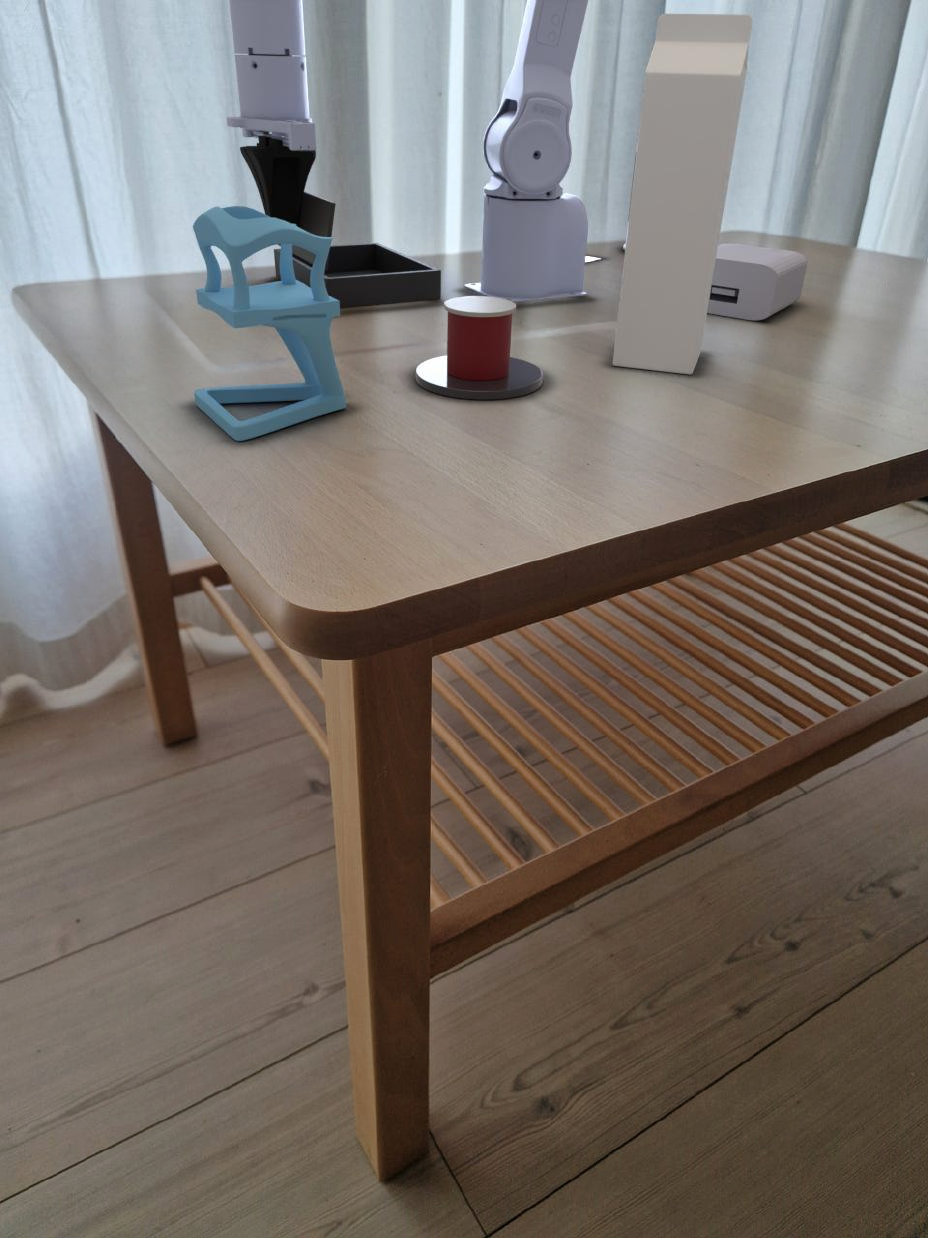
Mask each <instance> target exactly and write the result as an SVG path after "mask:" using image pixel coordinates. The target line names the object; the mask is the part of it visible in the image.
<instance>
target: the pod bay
mask: <svg viewBox="0 0 928 1238" xmlns="http://www.w3.org/2000/svg"><path fill="white" fill-rule="evenodd" d="M280 251H281V248H274V249H273V256H274V257H273V258H274V259H273V260H274V270H275V271H274V272H275V277H276V278H277V279H278V280H281V275H280ZM292 261H293V269H294V275H295V279H296V280H297V281H300V282H302V283H304V284H305V285H307V286H308V287H310V288H311V285H310V275H311V270H312V267H313V264H311V263H309V262H308V261H306V260H304V259H302V258H300V257H299V256H297V255H295V254H293V253H292ZM324 283H325V287H326V291H327V293H328V296H331V297H333V298H335V299H337V300H339V301H340V310H342V309H352V308H361V307H362V308H363V307H373V306H384V305H395V304H396V305H397V304H407V303H417V302H428V301H438V300H439V301H440V300H441V298H442V270H441V269H439V268H437V267H434V266H432V265H429V264H427V263H425V262H422V261H420V260H418V259H416V258H413V257H411V256H409V255H406V254H405V253H401V252H399V251H397V250H394V249H393V248H391V247H387V246H385V245H384V244H381V243H379V242H368V243H353V244H352V243H351V244H336V245H335V244H334V245H333V244H332V245H331V246H330V253H329V261H328V270H327V271H325V270H324Z"/></svg>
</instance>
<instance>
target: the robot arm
mask: <svg viewBox="0 0 928 1238" xmlns="http://www.w3.org/2000/svg"><path fill="white" fill-rule="evenodd" d="M228 2H229V9H230V10H229V11H230V12H229V13H230V21H231V32H232V42H233V53H234V61H235V62H234V63H235V72H236V82H237V91H238V92H237V93H238V100H239V101H238V102H239V114H240V115H239V116H226V126H227V127H229V128H240V129H241V132H242V137H243V138H254V139H258V142H256V145H246V146H240V147H239V152H240V153H241V156H242V158H243V159H244V161H245V163H246V165H247V167H248V169H249V170H250V173H251V175H252V177H253V180H254V182H255V185H256V187H257V190H258V194H259V197H260V201H261V204H262V207H263V208H262V209H263V211H264V214H265V215H267V216H269V217H271V218H277V219H281V220H284V221H286V222H289V223H291V224H296V226H297V227H299V224H300V216H301V209H302V201H303V195H304V191H305V189H306V186H307V181H308V179H309V175H310V172H311V170H312V167H313V165H314V163H315V161H316V158H317V133H316V123H315V122H313V118H312V117H310V104H309V87H308V72H307V71H308V70H307V57H306V42H305V41H306V40H305V25H304V23H305V22H304V9H303V0H229V1H228ZM588 2H589V0H526V4H525V9H524V14H523V19H522V23H521V28H520V33H519V39H518V44H517V48H516V54H515V58H514V64H513V67H512V70H511V72H510V74H509V76H508V78H507V81H506V83H505V85H504V88H503V92H502V97H501V101H500V104H499V108H498V110H497V112H496V114H495V115H494V116H493V118H492V119H491V121H490V122H489V124H488V125H487V127H486V129H485V132H484V134H483V140H482V155H483V158H484V162H485V164H486V167H487V168H488V170H489V171H490V173H492V175H491V177H490V179H489V181H488V183H487V184H485V186H484V187H483V193H484V194H483V205H482V206H483V207H482V208H483V209H482V210H483V211H482V237H481V239H482V240H481V266H480V267H481V268H480V269H481V270H480V282H474V283H465V284H464V285H463V287H464V288H465V289H468V290H471V291H473V292H474V293H477V294H480V295H481V296H489V297H497V298H503V299H507V300H510V301H512V302H514V303H523V302H532V301H543V300H554V299H563V298H564V299H565V298H573V297H584V296H587V295H588V293H587V292H585V291H583V289H584V279H585V277H584V276H585V267H586V262H585V258H586V256H587V247H588V246H587V245H588V234H589V220H588V214H587V210H586V206H585V205H584V203H583V201H582V200H581V199H580V198H579V196H577V195H575V194H572V193H564V187H563V186H561V182H562V181H563V180H564V178H565V177H566V175H567V173H568V171H569V168H570V166H571V163H572V162H571V161H572V155H573V149H572V141H571V134H570V121H571V114H572V111H573V104H574V103H573V94H572V83H571V82H572V81H571V77H572V73H573V69H574V63H575V60H576V55H577V51H578V47H579V42H580V38H581V34H582V29H583V25H584V21H585V16H586V12H587V8H588Z"/></svg>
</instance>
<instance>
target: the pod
mask: <svg viewBox="0 0 928 1238" xmlns="http://www.w3.org/2000/svg"><path fill="white" fill-rule="evenodd" d="M443 308H444V310H445V311H446V312H447V328H446V329H447V331H446V334H447V335H446V336H447V337H446V344H447V345H446V355H447V372H448V373H449V374H450V375H451V376H454V377H456V378H460V379H465V380H473V381H489V380H496V379H500V378H503V377H506V376H507V375H508V374H509V367H510V357H511V344H512V330H513V329H512V326H513V314H514V313H516V311H517V303H516V302H512V301H510V300H507V299H503V298H497V297H489V296H484V295H465V296H457V297H451V298H449V299H447V300H445V301H444V302H443Z"/></svg>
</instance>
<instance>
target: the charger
mask: <svg viewBox="0 0 928 1238" xmlns="http://www.w3.org/2000/svg"><path fill="white" fill-rule="evenodd" d="M808 263H809V262H808V259H807V257H806V256H805V255H803V253H800V252H798V251H794V250H788V249H780V248H772V247H766V246H765V247H764V246H755V245H748V244H741V243H729V242H726V243H720V244H718V249H717V255H716V261H715V267H714V273H713V279H712V285H711V292H710V298H709V304H708V310H707V314H710V315H717V316H722V317H728V318H735V319H740V320H746V321H762V320H765V319H767V318H769V317H771V316H773V315H774V314H776V313H778V312H779V311H781V310H783V309H785V308H787V307H789V306H790V305H792V304H794V303H796V302H798V300H800V298H801V295H802V292H803V287H804V282H805V277H806V273H807V268H808V265H809V264H808Z"/></svg>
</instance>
